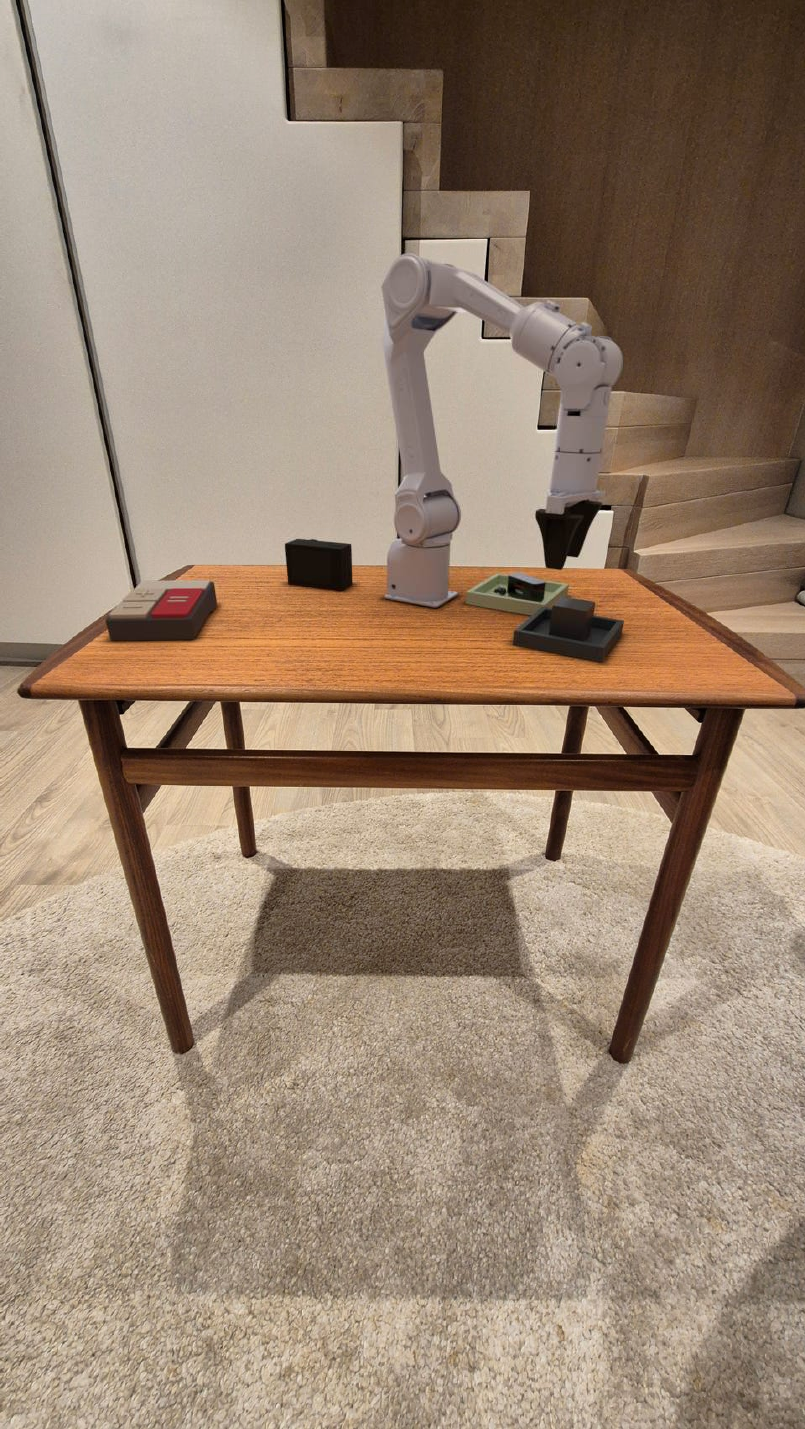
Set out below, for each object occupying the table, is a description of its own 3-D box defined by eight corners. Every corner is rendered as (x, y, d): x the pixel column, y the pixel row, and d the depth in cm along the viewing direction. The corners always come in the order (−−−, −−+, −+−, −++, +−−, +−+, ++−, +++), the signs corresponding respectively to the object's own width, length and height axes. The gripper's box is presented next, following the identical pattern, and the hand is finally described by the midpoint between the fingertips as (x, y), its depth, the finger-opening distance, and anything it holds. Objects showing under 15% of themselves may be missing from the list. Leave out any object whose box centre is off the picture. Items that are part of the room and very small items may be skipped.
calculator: (102, 614, 77) (139, 576, 89) (110, 645, 79) (145, 604, 92) (189, 613, 77) (213, 576, 90) (195, 644, 79) (217, 603, 92)
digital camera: (356, 582, 104) (355, 541, 100) (342, 591, 99) (341, 548, 96) (303, 576, 107) (300, 536, 103) (287, 584, 102) (284, 543, 99)
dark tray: (512, 644, 79) (514, 630, 78) (540, 619, 88) (542, 606, 87) (601, 662, 74) (604, 647, 73) (621, 634, 83) (624, 620, 82)
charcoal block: (548, 637, 80) (552, 605, 78) (558, 627, 83) (562, 596, 81) (581, 644, 78) (587, 611, 76) (590, 633, 81) (595, 601, 79)
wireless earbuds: (514, 590, 99) (516, 571, 97) (545, 602, 93) (547, 582, 92) (492, 595, 97) (494, 575, 95) (522, 607, 91) (525, 586, 90)
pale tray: (465, 604, 94) (466, 591, 93) (495, 584, 104) (496, 573, 103) (543, 617, 88) (544, 604, 88) (567, 596, 98) (569, 584, 97)
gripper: (596, 458, 66) (577, 579, 73) (623, 449, 77) (605, 554, 84) (534, 454, 69) (522, 571, 76) (569, 446, 80) (556, 548, 87)
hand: (562, 562), depth 80 cm, fingers open, 7 cm apart
